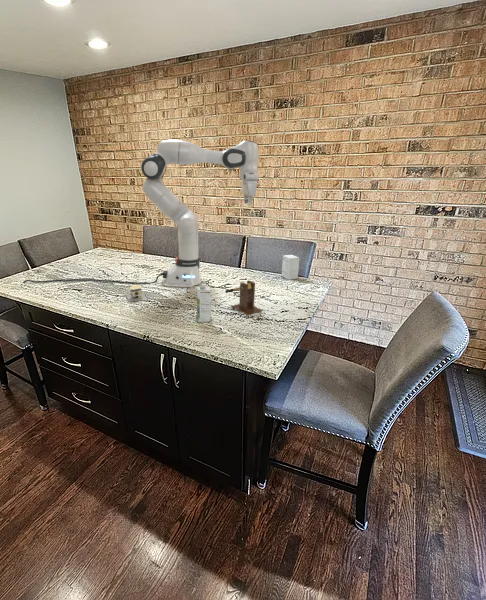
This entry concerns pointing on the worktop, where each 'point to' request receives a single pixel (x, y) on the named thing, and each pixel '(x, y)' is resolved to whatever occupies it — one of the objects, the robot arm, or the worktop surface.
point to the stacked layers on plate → (136, 293)
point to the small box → (290, 267)
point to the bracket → (247, 299)
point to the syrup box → (203, 303)
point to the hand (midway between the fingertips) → (247, 204)
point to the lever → (238, 288)
